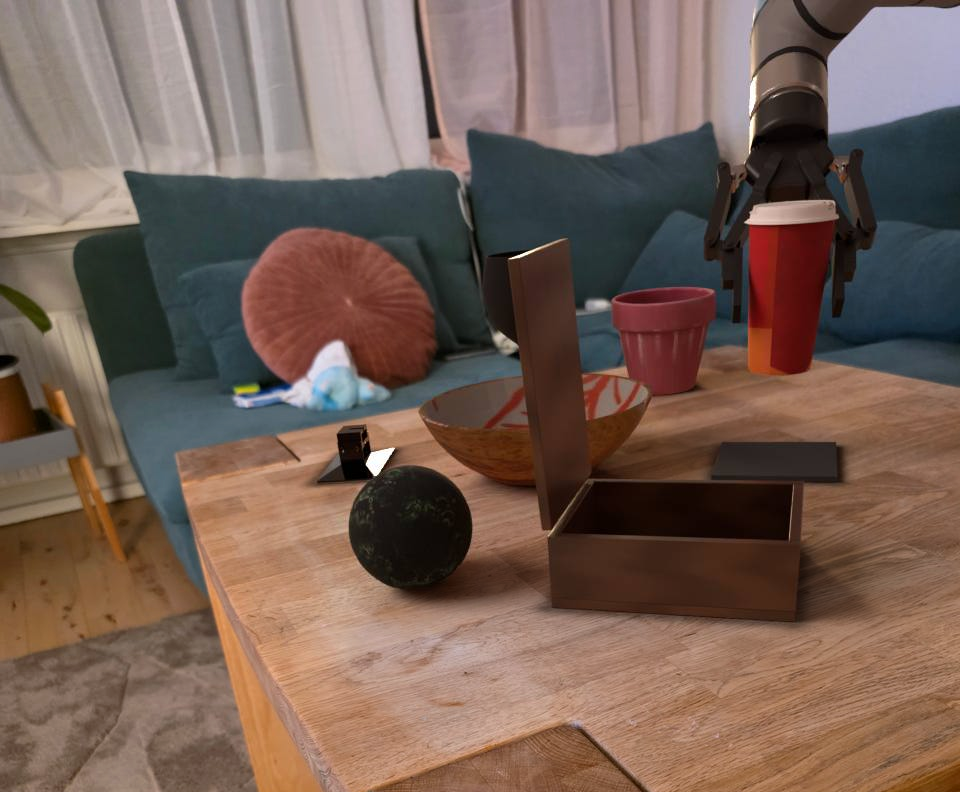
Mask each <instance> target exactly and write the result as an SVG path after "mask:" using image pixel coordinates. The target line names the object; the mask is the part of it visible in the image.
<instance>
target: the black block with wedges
mask: <svg viewBox="0 0 960 792" xmlns="http://www.w3.org/2000/svg"><path fill="white" fill-rule="evenodd" d="M369 433H370V432H369V430H368V425H367V424H351V425H343V426H342V427H341V428H340V429H339V430H338V431H337V432H336V440H337V442H336V444H337V451H338V454H337V455H336V456H335V457H334V459H333V460H332V461H331V463H330V464H329V465H328V466H327V467H326V469H325V470H324V471H323V472H322V474H320V476H319V477H318V479H317V480H316V481H315V483H316V484H317V485H323V484H326V485H327V484H339V483H355V482H357V483H358V482H368V481H370V480H371V479H372V478H373V477H374V476H376V475H378V474H379V473H381V472H383V471H384V468H385V467H386V465H387V464H388V462H389V460H390V458H391V457H392V455H393V454H394V452H395V451H396V449H395V447H394V446H393V447H381V448H380V447H379V448H372V447H371V441H370V434H369Z"/></svg>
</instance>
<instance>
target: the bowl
mask: <svg viewBox="0 0 960 792" xmlns="http://www.w3.org/2000/svg"><path fill="white" fill-rule="evenodd" d="M582 381H583V391H584V401H585V411H586V422H587V432H588V442H589V453H590V463H591V470H592V469H594V468H595V467H597V466H598V465H599V464H601V463H603V462H604V461H605V460H607V459H608V458H610V457H612V456H613V455H614V454H615V453H616V452H617V451H618V450H619V449H620V448H621V447H622V445H624V443H625V442H626V441H627V440H628V439H629V438H630V437H631V436H632V435H633V433H634V431H635V430H636V429H637V428H638V426H639V424H640V422H641V421H642V419H643V417H644V415H645V413H646V411H647V409H648V407H649V405H650V402H651V400H652V398H653V390H652V389H651V387H650V386H648V385H647V384H645V383H643V382H641V381H637V380H634V379H631V378H629V377H628V376H627V377H626V376H621V375H617V374H615V375H614V374H604V373H591V372H590V373H589V372H582ZM417 411H418V412H417V413H418V414H419V417H420V419H421V420H422V422H423V423H424V425H425V426H426V428H427V430H428V431H429V433H430V435H432V437H433V439H434V440H435V441H436V442H437V444H439V446H441V448H442V449H443V450H445V452H446V453H447V454H449V455H450V456H451V457H452V458H454V459H455V460H456V461H457V462H459V463H460V464H461V465H462V466H464V467H465V468H468V469H470V470H471V471H474V472H475V473H478V474H480V475H482V476H483V477H486V478H488V479H491V480H492V481H495V482H498V483H500V484H503V485H507V486H515V487H536V480H535V472H534V464H533V456H532V448H531V441H530V433H529V425H528V417H527V409H526V401H525V393H524V385H523V377H522V375H520V376H519V375H518V376H511V377H503V378H497V379H492V380H485V381H479V382H476V383H472V384H468V385H467V384H466V385H463V386H460V387H457V388H453V389H450V390H447V391H444V392H442V393H440V394H437V395H435V396H433V397H431V398H430V399H428V400H426V401H425V402H424V403H423V404H421V405H419V409H418V410H417Z"/></svg>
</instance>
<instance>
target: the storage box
mask: <svg viewBox="0 0 960 792" xmlns="http://www.w3.org/2000/svg"><path fill="white" fill-rule="evenodd" d="M804 486H805V482H804V481H749V480H711V479H655V478H653V479H652V478H650V479H649V478H587V480H586V481H585V483H584V484H583V486H582V487H581V489H580V490H579V491H578V493H577V494H576V496H575V497H574V499H573V500H572V502H571V503H570V505H569V506H568V507H567V509H566V510H565V512H564V513H563V515H562V516H561V518H560V519H559V520H558V522H557V523H556V525H555V526H554V528H553V529H552V530H550V533H549V534H548V535H547V537H546V538H547V554H548V568H549V569H548V570H549V584H550V585H549V586H550V598H551V599H550V600H551V601H550V603H551V608H560V609H575V610H576V609H577V610H578V609H579V610H589V611H590V610H592V611H606V612H607V611H609V612H625V613H628V612H629V613H641V614H642V613H644V614H658V615H659V614H660V615H675V616H677V615H678V616H690V617H691V616H692V617H707V618H708V617H711V618H726V619H741V620H744V619H745V620H759V621H777V622H796V613H797V612H796V610H797V598H798V586H799V585H798V584H799V574H800V572H799V571H800V559H801V548H802V527H803V509H804V490H805V487H804Z"/></svg>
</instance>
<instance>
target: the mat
mask: <svg viewBox="0 0 960 792" xmlns="http://www.w3.org/2000/svg"><path fill="white" fill-rule="evenodd" d="M838 469H839V468H838V451H837V441H722V442H721V444H720V448H719V451H718V454H717V456H716V460H715V462H714V466H713V469H712V471H711V475H710V480H749V481H804V483H838V479H839V473H838V472H839V471H838Z"/></svg>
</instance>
